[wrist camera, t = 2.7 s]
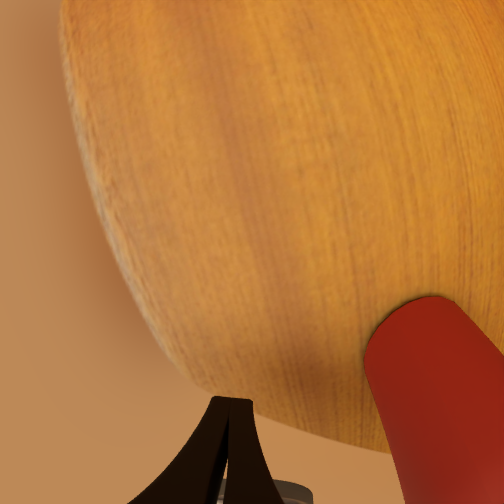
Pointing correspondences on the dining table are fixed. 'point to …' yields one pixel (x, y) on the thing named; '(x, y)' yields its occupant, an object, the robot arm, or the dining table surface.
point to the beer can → (440, 403)
